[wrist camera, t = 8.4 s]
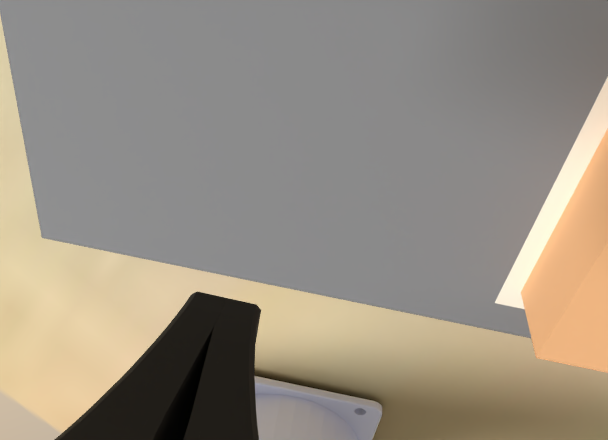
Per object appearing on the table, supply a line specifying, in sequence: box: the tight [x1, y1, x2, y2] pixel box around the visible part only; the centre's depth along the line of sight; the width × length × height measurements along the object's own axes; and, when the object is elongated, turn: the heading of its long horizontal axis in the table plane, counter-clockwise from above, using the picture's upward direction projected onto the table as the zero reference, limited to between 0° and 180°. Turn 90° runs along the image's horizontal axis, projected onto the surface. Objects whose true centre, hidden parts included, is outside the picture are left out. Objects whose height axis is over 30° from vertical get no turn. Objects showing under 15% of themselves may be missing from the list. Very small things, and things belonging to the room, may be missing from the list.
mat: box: [0, 0, 608, 338], centre depth 18 cm, size 31×14×1 cm, turn 82°
